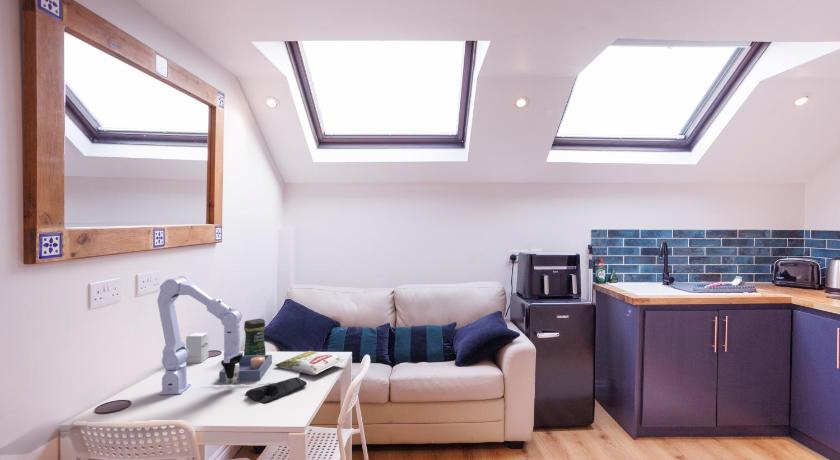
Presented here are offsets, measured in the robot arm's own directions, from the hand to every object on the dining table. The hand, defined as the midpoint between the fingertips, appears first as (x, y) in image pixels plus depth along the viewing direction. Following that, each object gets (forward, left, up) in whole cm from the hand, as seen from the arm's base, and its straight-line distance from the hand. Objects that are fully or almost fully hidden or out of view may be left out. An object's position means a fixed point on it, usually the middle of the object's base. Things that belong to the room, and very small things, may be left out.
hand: (232, 375), depth 180 cm
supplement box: (+40, +28, -6) cm, 49 cm away
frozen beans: (+22, -27, -6) cm, 36 cm away
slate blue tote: (+17, -1, -5) cm, 18 cm away
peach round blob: (+23, -4, -4) cm, 24 cm away
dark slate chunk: (-5, -18, -6) cm, 20 cm away
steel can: (0, 0, -2) cm, 2 cm away
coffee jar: (+42, +2, -6) cm, 42 cm away
